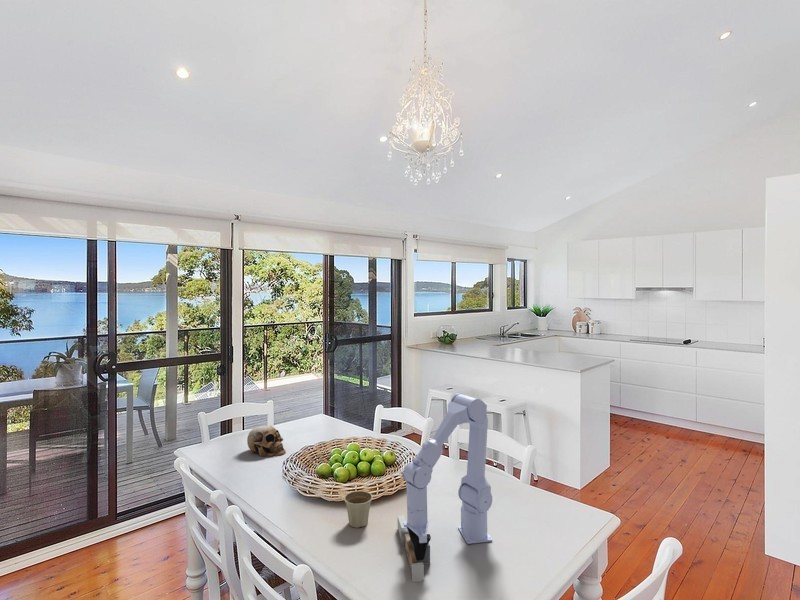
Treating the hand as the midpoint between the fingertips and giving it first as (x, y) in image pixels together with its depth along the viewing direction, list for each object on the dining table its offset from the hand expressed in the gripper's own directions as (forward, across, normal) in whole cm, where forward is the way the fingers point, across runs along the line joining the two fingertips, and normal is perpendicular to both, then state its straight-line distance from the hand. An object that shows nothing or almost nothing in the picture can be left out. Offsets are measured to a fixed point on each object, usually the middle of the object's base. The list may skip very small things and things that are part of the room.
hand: (418, 553), depth 122 cm
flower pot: (+2, -23, -15) cm, 27 cm away
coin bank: (+2, -97, -53) cm, 110 cm away
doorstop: (+2, 0, +1) cm, 2 cm away
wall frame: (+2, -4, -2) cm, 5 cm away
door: (+1, +1, -2) cm, 2 cm away
